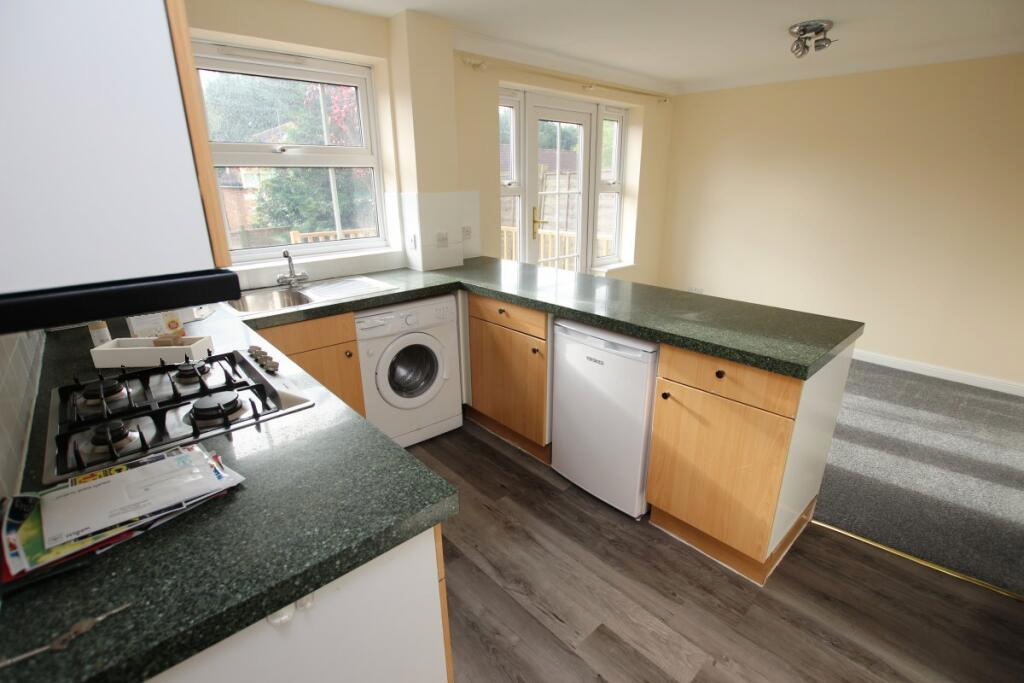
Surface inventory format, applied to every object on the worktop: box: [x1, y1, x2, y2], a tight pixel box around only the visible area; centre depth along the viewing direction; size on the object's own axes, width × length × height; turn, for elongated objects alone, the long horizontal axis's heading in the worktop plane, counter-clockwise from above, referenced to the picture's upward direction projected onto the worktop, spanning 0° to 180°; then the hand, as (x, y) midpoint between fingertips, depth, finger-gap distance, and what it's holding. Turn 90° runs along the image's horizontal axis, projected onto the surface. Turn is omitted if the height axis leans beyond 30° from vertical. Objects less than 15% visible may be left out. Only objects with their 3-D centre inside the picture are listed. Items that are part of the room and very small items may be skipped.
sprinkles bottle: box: [87, 320, 113, 348], centre depth 145 cm, size 5×5×14 cm
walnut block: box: [153, 335, 184, 347], centre depth 140 cm, size 5×5×4 cm
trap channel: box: [89, 335, 215, 369], centre depth 141 cm, size 28×10×6 cm, turn 93°
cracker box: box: [125, 310, 187, 338], centre depth 156 cm, size 14×6×21 cm, turn 141°
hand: (89, 221), depth 136 cm, fingers open, 8 cm apart
